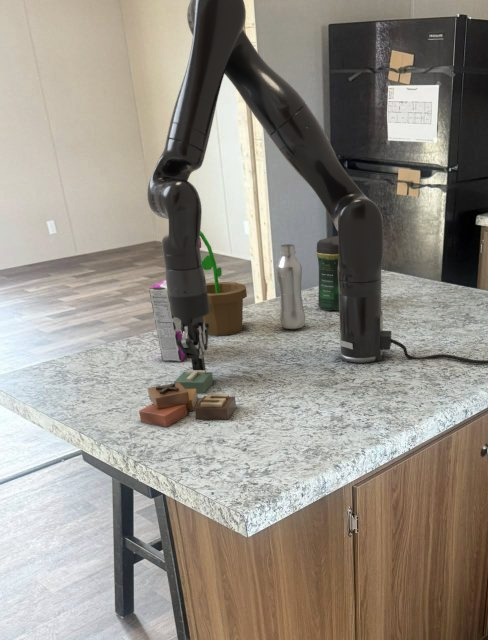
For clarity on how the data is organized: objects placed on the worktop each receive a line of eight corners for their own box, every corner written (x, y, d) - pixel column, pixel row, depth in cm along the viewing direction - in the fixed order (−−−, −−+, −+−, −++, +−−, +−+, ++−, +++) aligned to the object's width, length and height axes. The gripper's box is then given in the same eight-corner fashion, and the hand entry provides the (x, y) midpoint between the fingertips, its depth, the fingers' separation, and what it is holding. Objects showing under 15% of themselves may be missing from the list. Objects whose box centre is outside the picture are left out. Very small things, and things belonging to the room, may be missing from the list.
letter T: (213, 382, 145) (211, 369, 144) (204, 392, 140) (202, 379, 139) (185, 381, 146) (183, 368, 144) (175, 392, 141) (173, 378, 139)
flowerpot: (201, 322, 185) (184, 198, 170) (255, 321, 184) (242, 197, 169) (187, 338, 173) (167, 206, 157) (245, 337, 172) (230, 205, 157)
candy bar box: (181, 346, 167) (170, 275, 159) (201, 347, 166) (191, 276, 158) (160, 361, 157) (147, 286, 149) (181, 362, 157) (169, 287, 148)
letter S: (236, 407, 133) (234, 393, 132) (227, 419, 128) (226, 405, 127) (205, 406, 134) (203, 392, 132) (196, 419, 129) (193, 404, 127)
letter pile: (203, 399, 137) (200, 375, 135) (180, 427, 125) (176, 401, 123) (163, 398, 138) (158, 374, 135) (136, 426, 126) (130, 400, 124)
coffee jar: (337, 313, 190) (334, 240, 181) (314, 309, 194) (310, 238, 184) (357, 305, 197) (355, 235, 188) (334, 301, 201) (331, 233, 191)
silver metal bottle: (310, 326, 180) (305, 243, 170) (297, 333, 175) (291, 248, 164) (289, 323, 182) (282, 242, 172) (275, 330, 177) (268, 247, 167)
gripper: (195, 299, 131) (207, 386, 140) (215, 282, 142) (226, 364, 151) (156, 298, 132) (171, 386, 141) (180, 282, 143) (193, 364, 152)
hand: (200, 374), depth 146 cm, fingers closed
